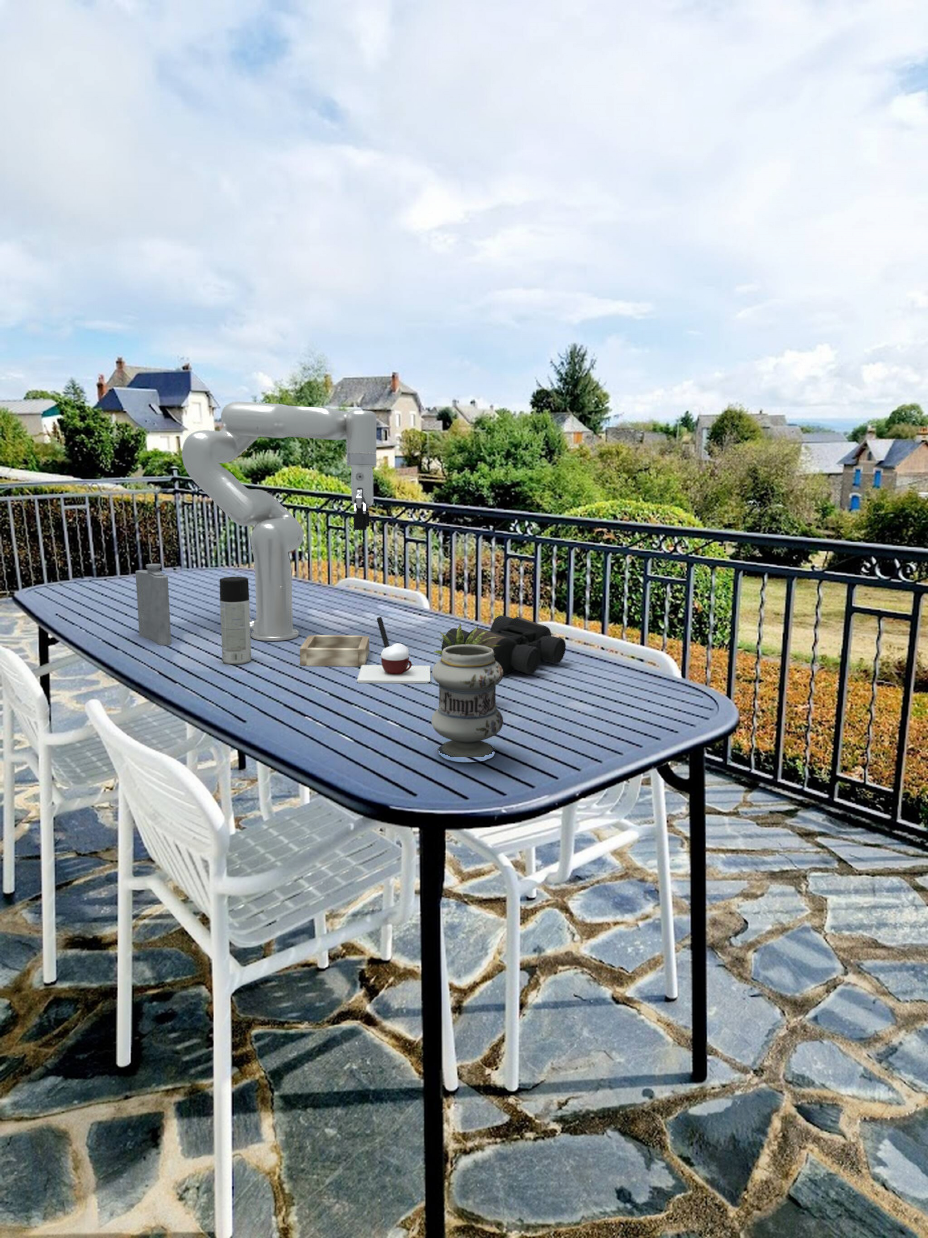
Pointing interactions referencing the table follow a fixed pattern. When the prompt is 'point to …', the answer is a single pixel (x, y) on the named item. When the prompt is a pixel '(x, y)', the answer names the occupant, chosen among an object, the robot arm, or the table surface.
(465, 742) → the apothecary jar
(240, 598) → the spray can
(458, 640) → the house plant
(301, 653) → the holder
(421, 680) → the mat
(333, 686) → the table surface
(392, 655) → the cocoa
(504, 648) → the binoculars
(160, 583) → the hip flask
